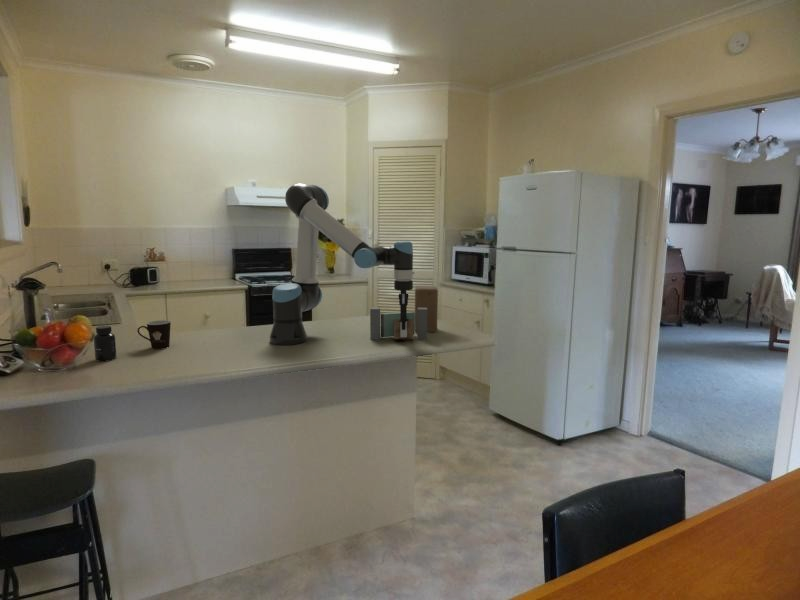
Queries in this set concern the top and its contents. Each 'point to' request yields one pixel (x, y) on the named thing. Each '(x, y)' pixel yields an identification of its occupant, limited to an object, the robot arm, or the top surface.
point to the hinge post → (375, 323)
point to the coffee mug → (158, 333)
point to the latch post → (422, 323)
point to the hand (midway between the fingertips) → (403, 336)
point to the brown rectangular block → (397, 330)
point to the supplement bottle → (104, 344)
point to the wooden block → (427, 305)
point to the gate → (388, 323)
